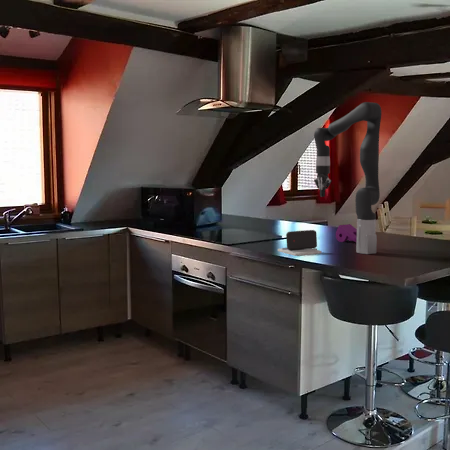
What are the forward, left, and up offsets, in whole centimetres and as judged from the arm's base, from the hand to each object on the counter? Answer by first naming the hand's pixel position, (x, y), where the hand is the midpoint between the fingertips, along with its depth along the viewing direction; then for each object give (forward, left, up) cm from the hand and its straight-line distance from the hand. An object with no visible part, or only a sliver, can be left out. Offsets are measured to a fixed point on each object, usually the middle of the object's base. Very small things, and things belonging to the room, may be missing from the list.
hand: (322, 196), depth 298 cm
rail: (-13, +24, -26) cm, 38 cm away
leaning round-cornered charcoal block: (-15, +23, -26) cm, 38 cm away
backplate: (-13, +24, -27) cm, 38 cm away
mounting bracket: (0, -23, -28) cm, 36 cm away
